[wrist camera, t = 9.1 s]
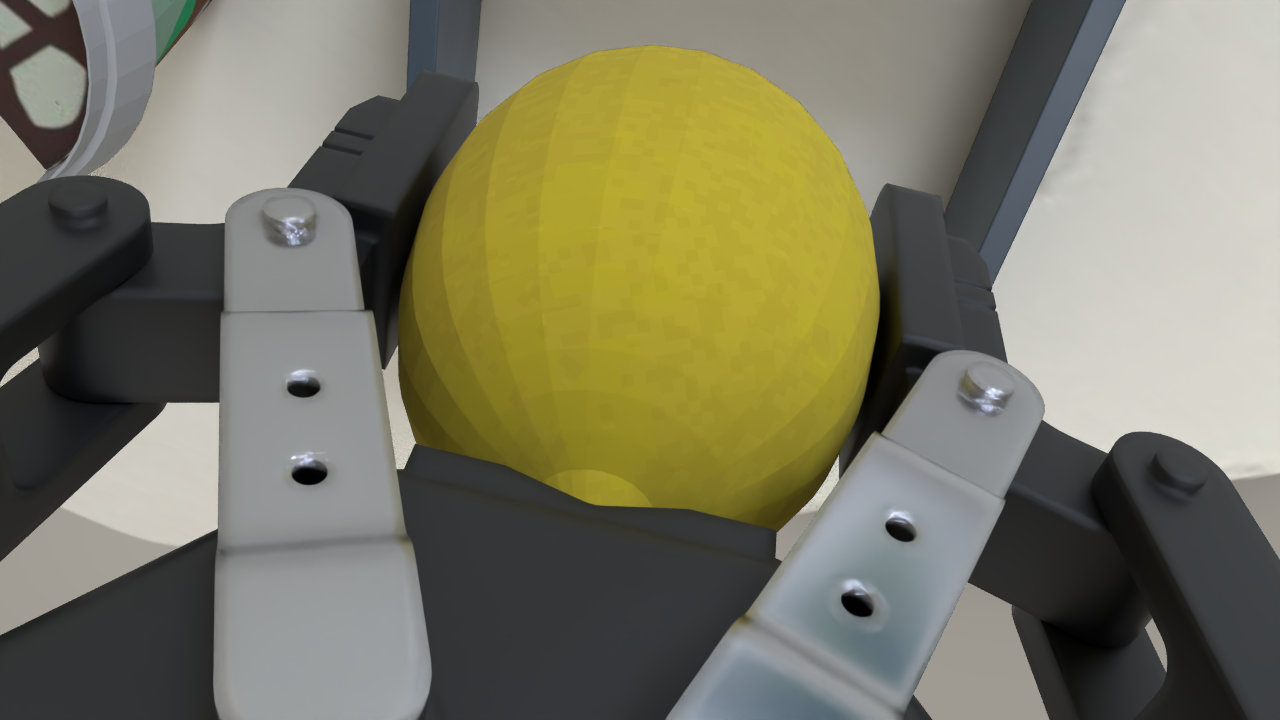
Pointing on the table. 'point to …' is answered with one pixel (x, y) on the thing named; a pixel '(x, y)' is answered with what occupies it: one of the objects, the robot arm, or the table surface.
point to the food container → (83, 73)
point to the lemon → (644, 290)
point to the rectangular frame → (1006, 142)
